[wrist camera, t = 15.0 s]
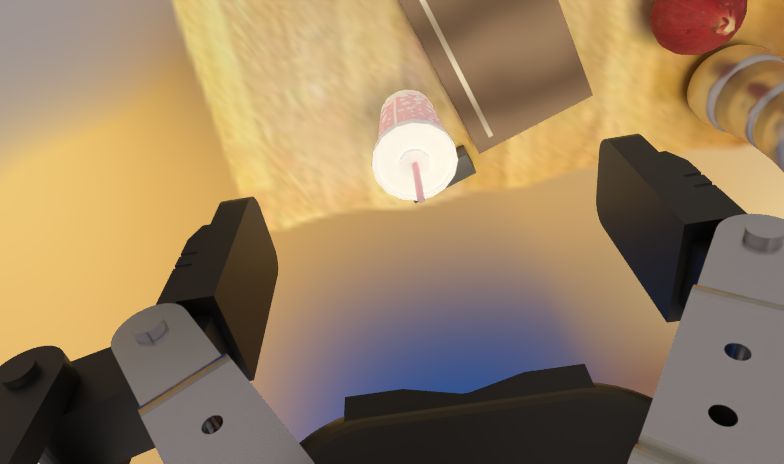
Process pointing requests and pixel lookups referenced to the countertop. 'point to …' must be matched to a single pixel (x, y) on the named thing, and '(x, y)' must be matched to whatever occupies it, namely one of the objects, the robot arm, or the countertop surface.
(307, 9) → the countertop surface
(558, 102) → the walnut board
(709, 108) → the plastic bottle
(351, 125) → the countertop surface
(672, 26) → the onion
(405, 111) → the beverage cup
